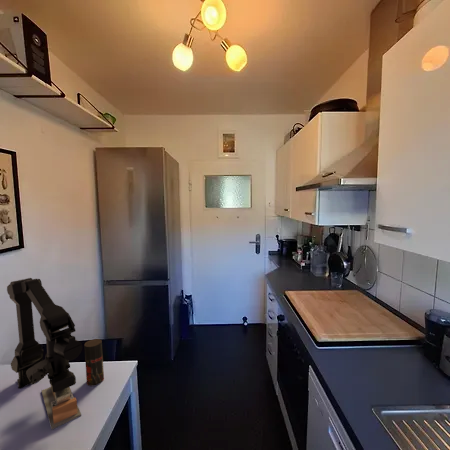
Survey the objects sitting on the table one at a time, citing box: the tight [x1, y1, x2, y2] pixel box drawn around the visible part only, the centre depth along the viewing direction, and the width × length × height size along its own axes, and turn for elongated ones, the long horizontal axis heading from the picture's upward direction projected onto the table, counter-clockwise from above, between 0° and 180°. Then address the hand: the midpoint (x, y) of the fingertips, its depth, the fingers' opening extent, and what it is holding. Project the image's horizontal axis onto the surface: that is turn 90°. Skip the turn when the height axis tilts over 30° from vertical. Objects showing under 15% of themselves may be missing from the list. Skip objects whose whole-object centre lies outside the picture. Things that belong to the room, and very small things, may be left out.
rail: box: [41, 386, 82, 430], centre depth 91 cm, size 22×8×5 cm, turn 41°
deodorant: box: [83, 338, 105, 387], centre depth 102 cm, size 6×6×15 cm
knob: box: [51, 388, 75, 407], centre depth 87 cm, size 4×6×6 cm, turn 131°
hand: (60, 395), depth 90 cm, fingers closed
